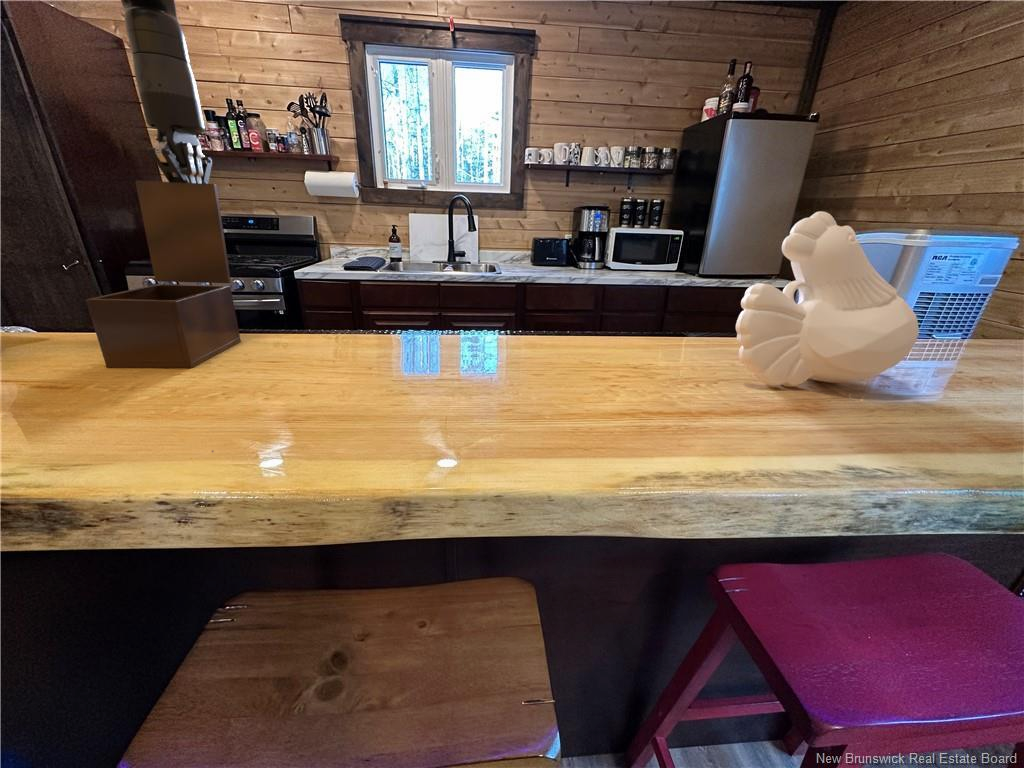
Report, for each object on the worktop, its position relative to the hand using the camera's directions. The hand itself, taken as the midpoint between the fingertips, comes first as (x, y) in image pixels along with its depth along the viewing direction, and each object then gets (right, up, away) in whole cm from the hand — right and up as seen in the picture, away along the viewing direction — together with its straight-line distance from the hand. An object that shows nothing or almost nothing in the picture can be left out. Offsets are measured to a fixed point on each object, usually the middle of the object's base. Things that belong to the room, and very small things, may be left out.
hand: (196, 214), depth 74 cm
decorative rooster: (+100, -28, -4) cm, 104 cm away
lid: (0, -4, -3) cm, 5 cm away
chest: (0, -24, -4) cm, 24 cm away
